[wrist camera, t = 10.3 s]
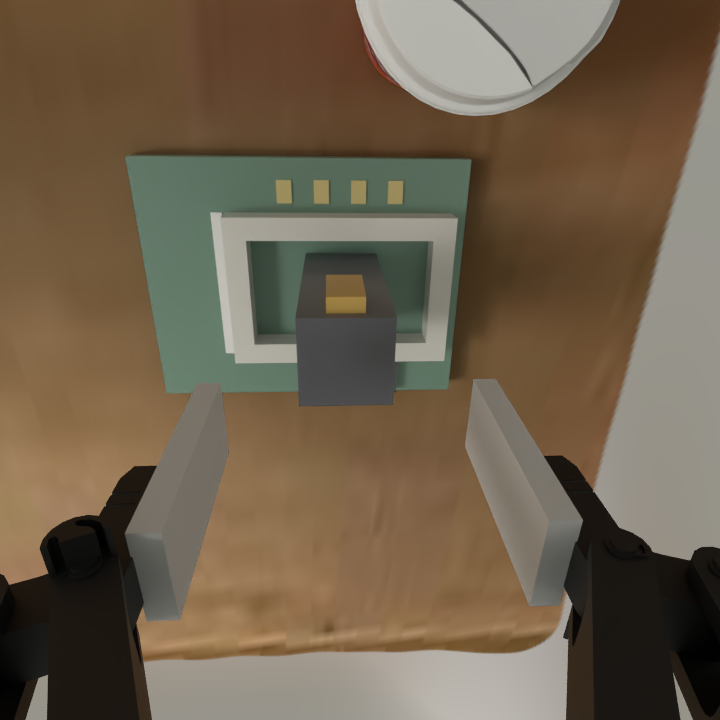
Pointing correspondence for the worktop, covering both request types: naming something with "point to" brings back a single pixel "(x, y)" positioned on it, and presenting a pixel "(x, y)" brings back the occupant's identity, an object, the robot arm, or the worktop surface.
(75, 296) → the worktop surface
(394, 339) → the plug
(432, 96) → the paper cup
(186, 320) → the board
